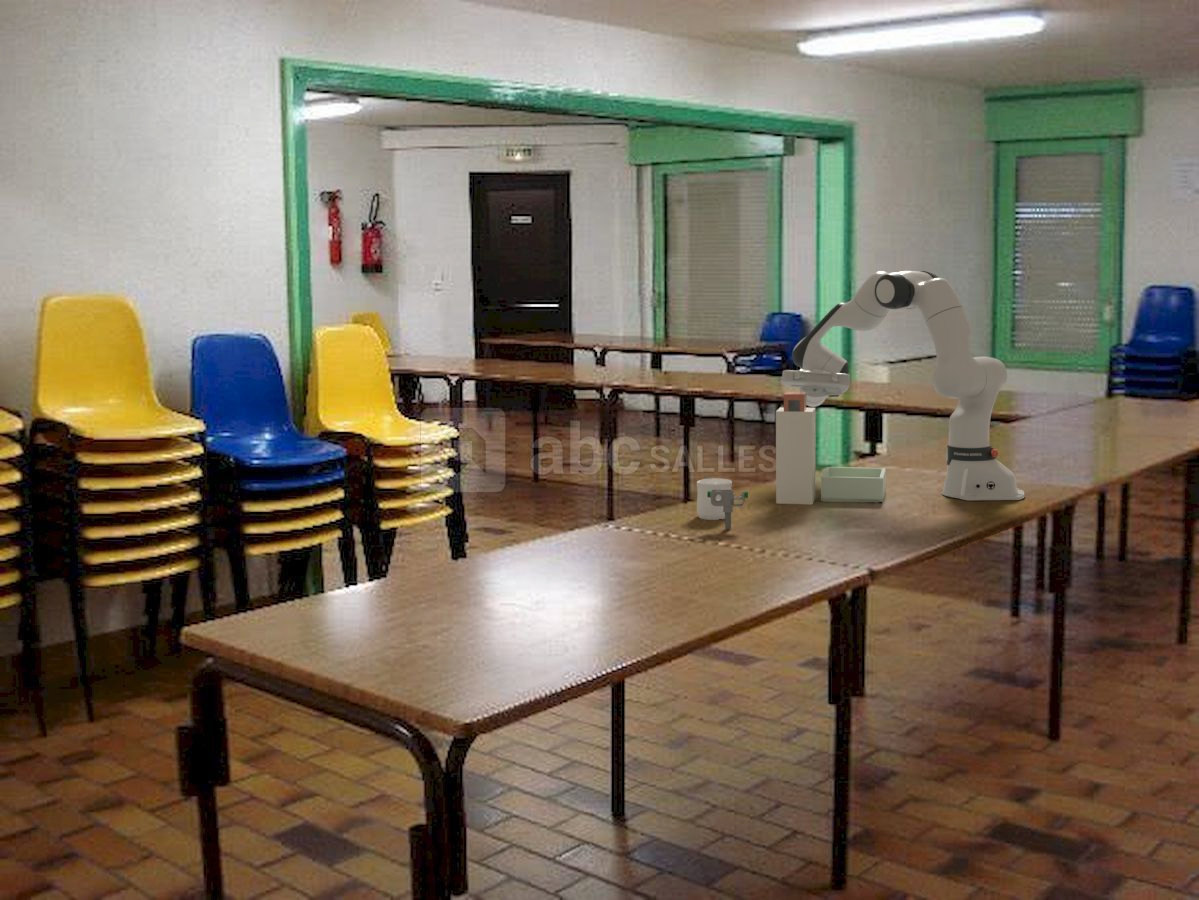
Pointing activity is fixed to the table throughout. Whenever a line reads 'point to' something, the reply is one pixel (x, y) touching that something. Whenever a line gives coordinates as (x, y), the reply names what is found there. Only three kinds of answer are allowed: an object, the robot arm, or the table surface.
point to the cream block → (795, 457)
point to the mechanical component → (726, 502)
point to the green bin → (853, 484)
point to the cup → (704, 502)
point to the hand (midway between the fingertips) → (816, 373)
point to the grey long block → (794, 401)
